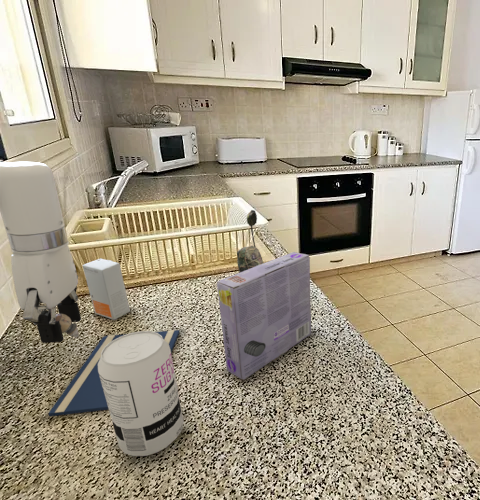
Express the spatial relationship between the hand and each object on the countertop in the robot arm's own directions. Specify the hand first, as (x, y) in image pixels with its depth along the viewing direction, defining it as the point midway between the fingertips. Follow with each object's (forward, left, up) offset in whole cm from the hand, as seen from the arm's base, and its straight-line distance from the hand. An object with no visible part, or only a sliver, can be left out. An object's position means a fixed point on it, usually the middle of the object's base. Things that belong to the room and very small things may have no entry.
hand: (62, 330), depth 68 cm
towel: (+12, -7, -4) cm, 15 cm away
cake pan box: (+38, -6, -5) cm, 39 cm away
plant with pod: (+34, +20, -5) cm, 40 cm away
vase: (0, -1, -1) cm, 1 cm away
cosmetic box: (+3, +13, -5) cm, 14 cm away
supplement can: (+21, -23, -5) cm, 31 cm away
